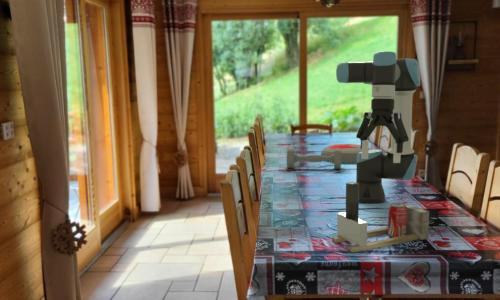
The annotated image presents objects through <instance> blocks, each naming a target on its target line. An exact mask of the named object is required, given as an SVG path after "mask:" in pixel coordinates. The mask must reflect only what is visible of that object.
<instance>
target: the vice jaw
mask: <svg viewBox="0 0 500 300" xmlns="http://www.w3.org/2000/svg"><path fill="white" fill-rule="evenodd" d="M359 203H360V202H359V183H356V181H355V182H354V181H352V182H351V181H350V182H346V183H345V211H342V212H338V213H337V219H336V220H337V225H336V227H337V229H336V231H337V232H336V236H341V237H342V238H344V239H346V240H348V241H349V242H350V243H352V244H353V245H357V246H359V247H361V246H366V245H367V243H368V237H367V231H368V222H367V221H365V220H363V219H361V218H359V209H360V205H359Z"/></svg>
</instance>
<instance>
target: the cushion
mask: <svg viewBox="0 0 500 300" xmlns="http://www.w3.org/2000/svg"><path fill="white" fill-rule="evenodd" d="M335 148H339V149H341V162H343V163H342V164H357V163H356V161H357V155H358V153H359V152H362V149H361V144H357V143H353V144H352V143H339V144H331V145H328V146H326V147H323V149H322V150H321V152H320V155H321V156H331V155H332V154H334V149H335ZM369 150H374V149H373V148H371V147H369Z"/></svg>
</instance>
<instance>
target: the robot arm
mask: <svg viewBox="0 0 500 300" xmlns="http://www.w3.org/2000/svg"><path fill="white" fill-rule="evenodd" d="M372 59H373V60H371V61H352V62H351V61H349V62H348V61H344V62H339V63H338V64H336V65H337V66H336V71H335V72H336V73H335V75H336V80H337V82H338V83H340V84H342V83H343V84H361V83H363V84H366V85H371V97H372V99H371V105H370V109H371V112H369V111H366V112H364V114H363V119H362V121H361V124H360V126H359V129H358V130H357V133H356V137H355V138H357V139H359V140H360V145H361V149H362V152H359V153H358V155H357V161H356V163H355V164H356V176H355V178H356V179H355V180H356V181H355V183H359V203H362V204H363V203H365V204H378V203H383V202H384V201H386V194H385V190H384V187H383V183H382V182H383V181H382V180H385V179H386V180H397V181H399V180H400V181H411V180H413V179H414V178H415V173H416V170H417V163H418V155H417V154H415V150H414V149H413V148H412V125H413V124H412V123H413V120H412V118H413V115H412V114H413V95H414V93H415V92H416V91H417V87H420V86H421V71H420V70H421V69H420V66H419V61H418V60H417V59H415V58H397V53H396V52H395V51H390V50H389V51H386V50H385V51H377V52H374V53H373V58H372ZM378 126H381V127H386V129H388V131H389V133H390V147H389V148H388V149H387V150H386V152H385V153H384V150H383V149H373V150H369V148H370V140H369V139H368V138H369V137H370V136H371V134H372V133H374V130H376V128H377V127H378Z"/></svg>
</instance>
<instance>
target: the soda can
mask: <svg viewBox="0 0 500 300" xmlns="http://www.w3.org/2000/svg"><path fill="white" fill-rule="evenodd" d="M403 203H404V202H403ZM403 203H399V202H391V203H390V205H389V207H388V219H387V220H388V226H387V227H388V233H387V234H388V235H389V237H390V238H394V237H399V236H405V235H407V233H406V222H407V208H406V205H405V204H403Z"/></svg>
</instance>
